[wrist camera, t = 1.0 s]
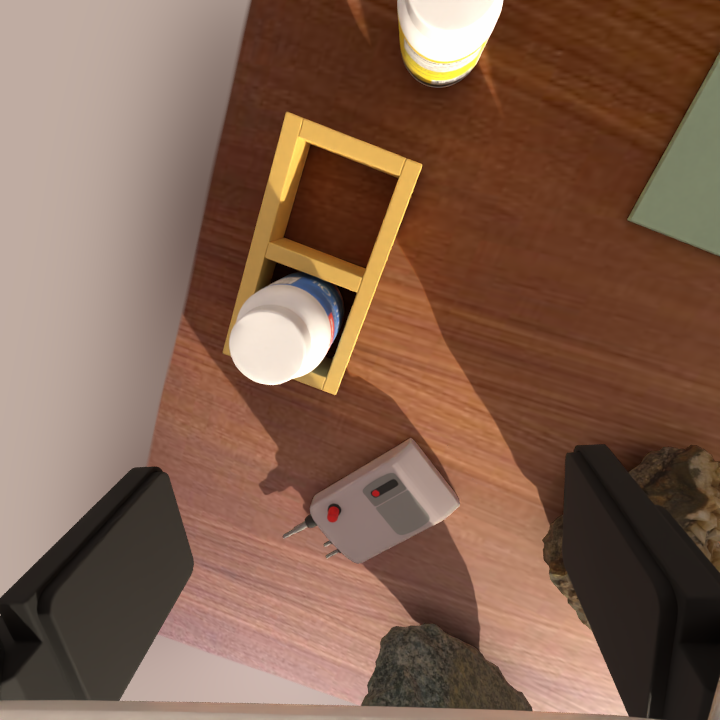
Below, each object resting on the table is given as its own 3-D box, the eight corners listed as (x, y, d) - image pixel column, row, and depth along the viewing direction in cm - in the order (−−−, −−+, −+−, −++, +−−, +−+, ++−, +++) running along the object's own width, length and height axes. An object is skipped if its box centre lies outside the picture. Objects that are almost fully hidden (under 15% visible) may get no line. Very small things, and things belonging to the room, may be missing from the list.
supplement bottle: (430, -29, 25) (441, -136, 17) (501, 23, 25) (544, -58, 17) (383, 60, 26) (373, 0, 18) (450, 106, 27) (468, 67, 19)
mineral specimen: (746, 565, 35) (868, 697, 26) (584, 617, 38) (641, 751, 29) (681, 418, 32) (795, 509, 22) (510, 489, 35) (547, 594, 26)
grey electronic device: (479, 487, 35) (485, 512, 32) (324, 569, 39) (317, 598, 37) (431, 424, 34) (433, 444, 31) (276, 517, 38) (265, 542, 35)
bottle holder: (240, 338, 33) (222, 353, 30) (300, 121, 28) (285, 111, 24) (342, 376, 33) (335, 395, 30) (421, 168, 28) (423, 164, 25)
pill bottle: (357, 329, 32) (337, 382, 23) (290, 354, 33) (245, 413, 24) (327, 256, 30) (292, 280, 21) (257, 285, 32) (196, 320, 22)
